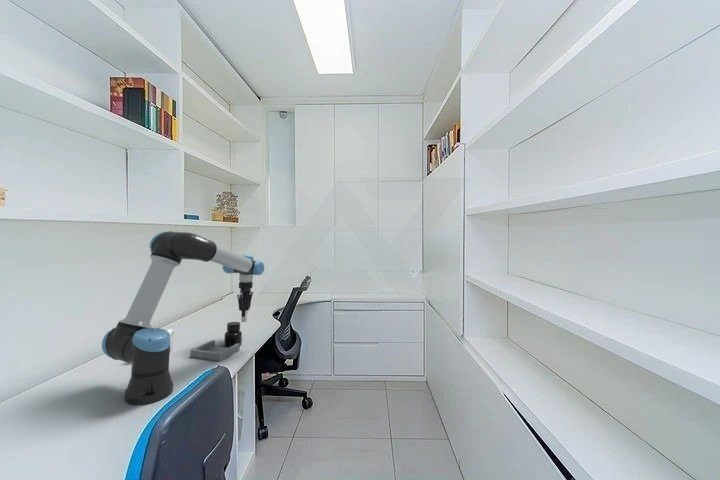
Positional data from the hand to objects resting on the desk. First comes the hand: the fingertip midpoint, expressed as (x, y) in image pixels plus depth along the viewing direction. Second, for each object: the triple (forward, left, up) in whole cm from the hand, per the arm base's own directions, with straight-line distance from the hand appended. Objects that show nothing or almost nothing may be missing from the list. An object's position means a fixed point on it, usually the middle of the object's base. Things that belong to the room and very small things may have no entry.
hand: (244, 321), depth 181 cm
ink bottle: (-10, 0, -11) cm, 15 cm away
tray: (-24, 0, -10) cm, 26 cm away
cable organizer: (-36, +24, -11) cm, 44 cm away
